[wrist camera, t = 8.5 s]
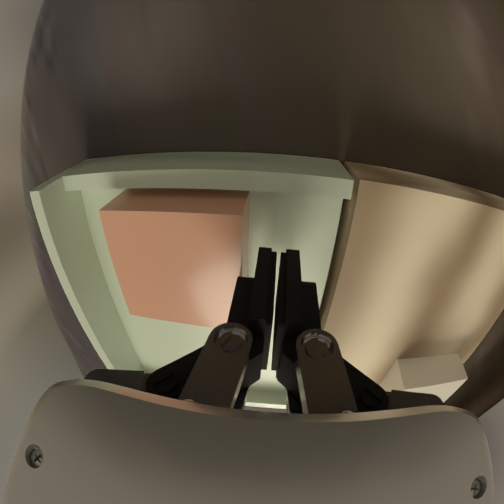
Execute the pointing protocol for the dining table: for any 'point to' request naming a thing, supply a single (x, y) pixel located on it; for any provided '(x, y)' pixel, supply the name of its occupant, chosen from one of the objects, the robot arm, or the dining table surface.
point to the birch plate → (412, 269)
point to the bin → (193, 177)
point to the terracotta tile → (178, 251)
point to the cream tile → (426, 375)
